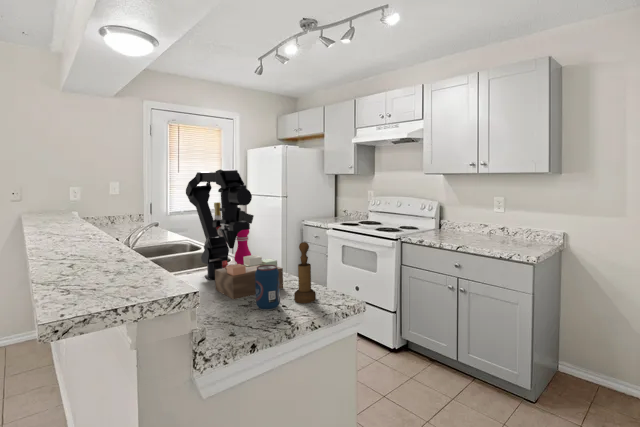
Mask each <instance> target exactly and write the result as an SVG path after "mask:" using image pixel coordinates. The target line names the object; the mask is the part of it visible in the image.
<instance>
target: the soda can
mask: <svg viewBox="0 0 640 427" xmlns="http://www.w3.org/2000/svg"><path fill="white" fill-rule="evenodd" d="M277 267H278V265H277V266H275V265H261V266H258V267H257V270H256V272H255V289H256V295H255V304H256V307H257V308H258V309H259V310H261V311H273V310H276V309H278V307H279V305H280V303H281V302H280V300H281V297H280V296H281V294H280V293H281V292H280V290H281V289H279V271H278V270H277Z"/></svg>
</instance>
